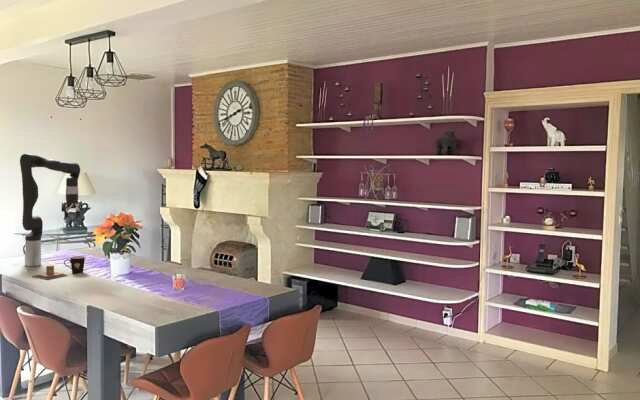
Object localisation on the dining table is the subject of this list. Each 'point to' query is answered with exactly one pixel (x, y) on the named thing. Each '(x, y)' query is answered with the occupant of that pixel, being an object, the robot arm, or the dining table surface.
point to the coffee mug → (76, 264)
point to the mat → (49, 278)
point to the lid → (50, 272)
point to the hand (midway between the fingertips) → (72, 217)
